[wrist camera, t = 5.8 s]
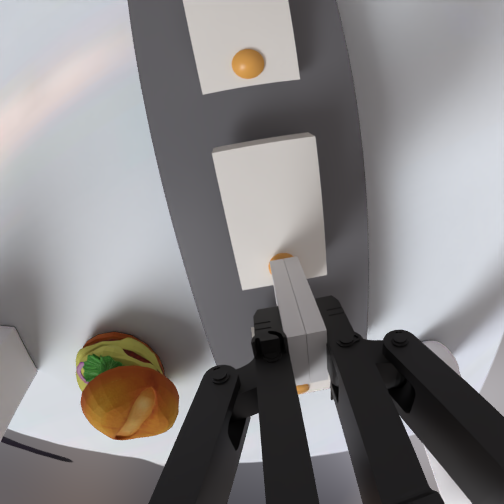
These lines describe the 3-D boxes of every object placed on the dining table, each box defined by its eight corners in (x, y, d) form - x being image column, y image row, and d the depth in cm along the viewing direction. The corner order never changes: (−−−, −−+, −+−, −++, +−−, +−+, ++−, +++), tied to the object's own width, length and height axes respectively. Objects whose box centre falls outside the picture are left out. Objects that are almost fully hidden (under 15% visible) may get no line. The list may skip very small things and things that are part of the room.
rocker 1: (178, -36, 11) (173, -43, 9) (272, -50, 10) (277, -58, 9) (204, 90, 16) (202, 95, 14) (294, 76, 15) (300, 79, 14)
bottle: (388, 394, 34) (464, 598, 7) (385, 353, 31) (489, 600, 3) (442, 370, 33) (536, 552, 6) (446, 326, 30) (575, 536, 3)
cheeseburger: (67, 318, 27) (47, 390, 18) (168, 313, 30) (179, 387, 22) (89, 386, 31) (84, 455, 22) (175, 383, 34) (188, 452, 25)
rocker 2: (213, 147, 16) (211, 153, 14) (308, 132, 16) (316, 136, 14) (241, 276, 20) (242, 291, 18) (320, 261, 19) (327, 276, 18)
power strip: (138, -55, 14) (117, -88, 9) (287, -79, 14) (299, -116, 8) (231, 367, 30) (230, 411, 25) (348, 345, 30) (365, 386, 25)
